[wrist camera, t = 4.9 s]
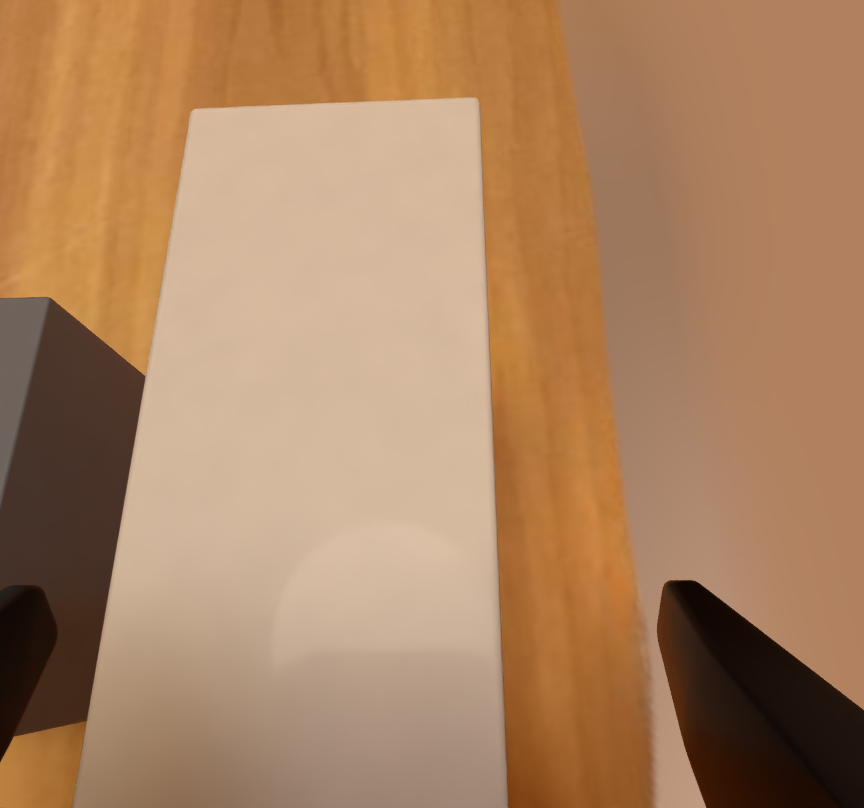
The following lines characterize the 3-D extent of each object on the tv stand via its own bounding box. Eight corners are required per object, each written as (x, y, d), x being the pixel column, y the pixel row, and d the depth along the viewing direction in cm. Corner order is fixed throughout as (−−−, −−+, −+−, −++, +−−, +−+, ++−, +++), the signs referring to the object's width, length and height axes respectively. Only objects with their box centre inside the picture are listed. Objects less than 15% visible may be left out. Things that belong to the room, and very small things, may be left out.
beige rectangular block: (470, 404, 20) (480, 94, 8) (478, 724, 16) (512, 904, 5) (344, 407, 20) (188, 105, 9) (328, 724, 17) (52, 898, 5)
